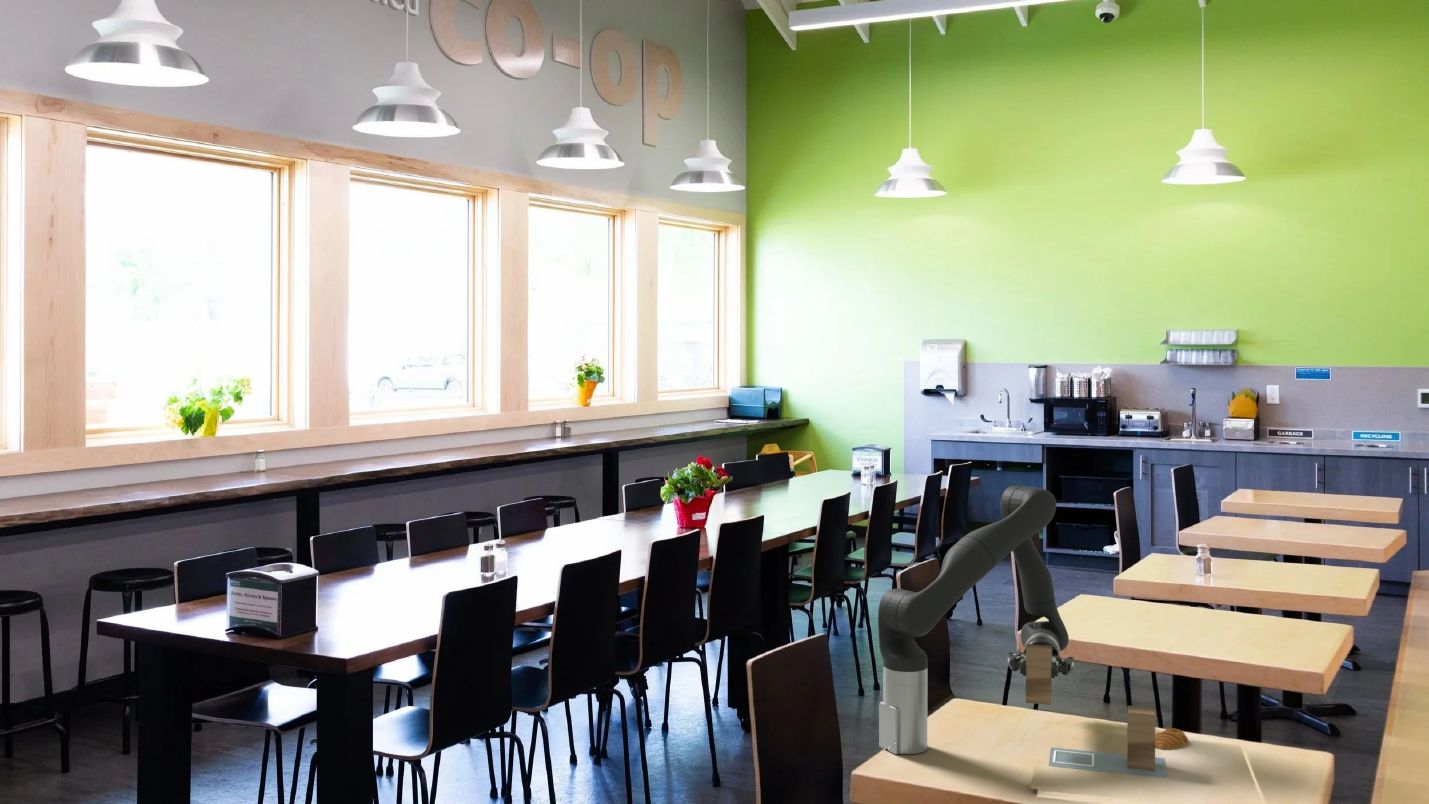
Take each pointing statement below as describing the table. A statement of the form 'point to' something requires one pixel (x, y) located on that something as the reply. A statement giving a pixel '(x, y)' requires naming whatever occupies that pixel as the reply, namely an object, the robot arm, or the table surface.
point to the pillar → (1038, 674)
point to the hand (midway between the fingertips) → (1038, 672)
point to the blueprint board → (1101, 762)
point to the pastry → (1170, 739)
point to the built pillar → (1141, 738)
